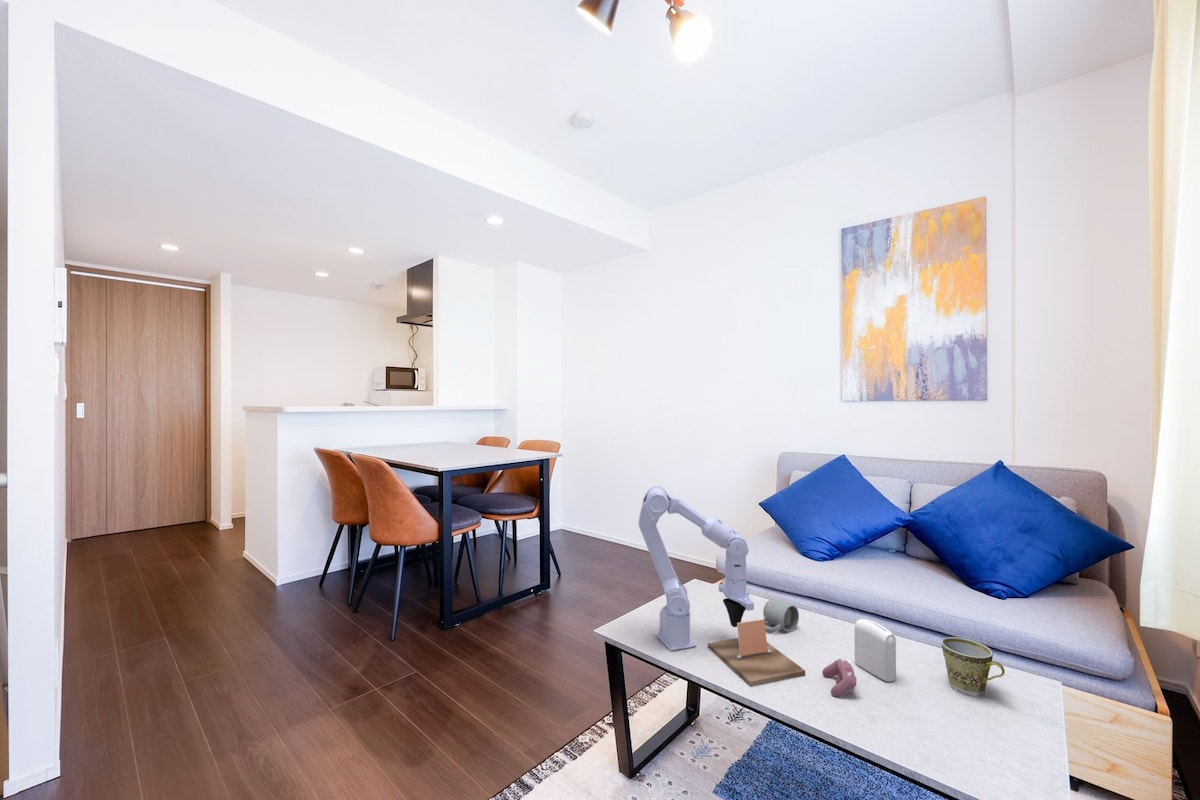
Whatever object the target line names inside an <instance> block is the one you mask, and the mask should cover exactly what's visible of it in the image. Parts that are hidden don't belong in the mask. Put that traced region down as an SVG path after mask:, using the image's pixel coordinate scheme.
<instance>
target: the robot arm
mask: <svg viewBox="0 0 1200 800" xmlns="http://www.w3.org/2000/svg"><path fill="white" fill-rule="evenodd" d="M666 512H667V514H668V515H671V514H679V515H680V516H682V517H683V518H684V519H686V520H688V521H690V522H691V523H693V524H694V525H696V526H697V527H698V528H700V530H701V535H702V536H703V537H705V538H707V539H708V540H709V541H711V542H712V543H714V544H715V545H717V546H718V547H720V548H721V549H724V550H725V561H724V563H725V564H724V565H725V566H724V583H721V584H718V592H720V593H723V596H724V597H725V598H723V599H722V603H723V604H724V606H725V608H726V610H727V611H726V612H727V615H728V618H729V622H730V626H731V627H732V628H738V627H737V623H740V622H742V619H743V617H744V614H745V611H754V610H755V603H754V602H753V601H752V600H751V598H750V596H749V595H750V592H749V591H748V590H747V560H746V559H747V555H748V554H749V552H750V551H749V550H750V548H749V547H748V543H747V542H746V540H745V539H744V537H743V536H742V535H741V534H740V533H739V532H738V531H736V530H735V529H734V528H732V529H731V528H729V527H728V526H726V525H725V524H724V523H723V521H722V520H721V519H720V518H719V517H718V518H717V519H716V518H715V517H709V518H708V517H706V516H704V514H703V515H702V514H701V513H700V512H699V511H697V510H696V509H695V508H694V507H692V506H691V505H690V504H689V503H687V502H685V501H684V500H683V499H681V498H680V497H678V495H677V496H676V494H674V493H673V492H670V491H666V490H665V488H663V487H661V486H658V485H657V486H652V487H650V488H648V490H647V492H646V493H645V495H644V497H643V498H642V503H641V508H640V512H639V518H638V527H639V530H640V533H641V535H642V537H643V539H644V542H645V545H646V547H647V550H648V552H649V554H650V557H651V560H652V562H653V565H654V566H655V569H656V572H657V574H658V576H659V579H660V581H661V584H662V587H663V591H664V596H665V597H666V598H665V599H666V605H664V606H663V607H662V608H661V609H660V612H659V633H656V637H657V638H658V639H659V640H660V641H661V642H662V643H663V644H664V645H665V647H667V649H668V650H669V651H671V652H672V651H678V650H682V649H683V650H684V649H690V648H696V643H695V642H694V641H693V640H692V639H691V609H690V606H691V603H690V600H689V598H688V590H687V588H686V587H685V585H684V584H683V583H682V582H681V581H680V580H679V577H678V574H676V571H675V569H674V566H673V564H672V561H671V559H670V555H669V554H668V551H667V548H666V547H665V543H664V541H663V539H662V537H661V534H660V532H659V529H658V526H657V524H658V522H659V520H660V517H662V516H663V515H664V514H666Z"/></svg>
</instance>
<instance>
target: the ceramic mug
mask: <svg viewBox="0 0 1200 800" xmlns="http://www.w3.org/2000/svg"><path fill="white" fill-rule="evenodd" d="M799 613H800V612H799V610H798V608H797V607H796V605H794V604H790V603H789V602H788V603H787V602H784V601H781V600H778V599H769V600H768V601H767V602H765V604H764V607H763V613H762V614H763V618H762V619H764V620H765V624H766V623H768V624H770V625H772V626H773V627H766V626H765V629H766V633H769V634H771V633H773V634H774V633H776V632H778V631H780V630H782V631H784V632H787V633H791V632H793V631H794V630H796V628H797V626H798V624H799V621H800V620H799V619H800V614H799Z"/></svg>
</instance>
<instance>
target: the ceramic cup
mask: <svg viewBox="0 0 1200 800" xmlns="http://www.w3.org/2000/svg"><path fill="white" fill-rule="evenodd" d="M941 649H942V653H943V658H944V661H945V668H946V672H947V678H948V682H949V685H950V686H951V688H952V689H953V688H954V689H953V690H955V689H956V690H955V691H957V690H958V691H957V692H959V691H960V692H959V693H961V692H962V693H961V694H963V693H964V694H963V695H966V694H968V695H967V696H971V695H973V696H972V697H976V696H978V697H981V696H983V695H984V694H985V691H986V686H987V682H988V681H991V680H993V679H995V678H1002V677H1003V676H1004V675H1005V673H1006V671H1005V669H1004V666H1003V665H1002V664H1001V663H1000V662H997V661H993V655H994V653H993V651H992V650H991V649H990V648H989V647H988V646H987V645H984V644H982V643H981V642H977V641H974V640H971V639H969V638H963V637H956V636H951V637H950V636H949V637H944V638H943V639H941ZM991 666H997V667H998V668H1000V670H1001V674H1000V673H999V674H997V675H993V676H991V677H989V675H990V674H989V673H990V669H991ZM982 694H983V695H982ZM980 695H981V696H980Z"/></svg>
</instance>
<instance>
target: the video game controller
mask: <svg viewBox="0 0 1200 800" xmlns="http://www.w3.org/2000/svg"><path fill="white" fill-rule="evenodd" d="M822 675H823V677H825V678H832V677H833V678H834V677H835V676H836V678H835V681H836V684H835V685H833V686H832V688H831V689H830V694H831V696H833V697H839V698H840V697H843V696H845V695H847V694H848V693H849V692H850V691H852V690H854V689H855V688H856V687H857V685H858V684H857V683H858V682H857V677H856V675H855V670H854V667H853V666H852V664H851V663H850V662H848V661H847V660H844V659H841V658H839V659H836V660H834V661H833V662H832V663H830V664H828V665H827V666H825V667H824V668H823V669H822Z"/></svg>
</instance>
